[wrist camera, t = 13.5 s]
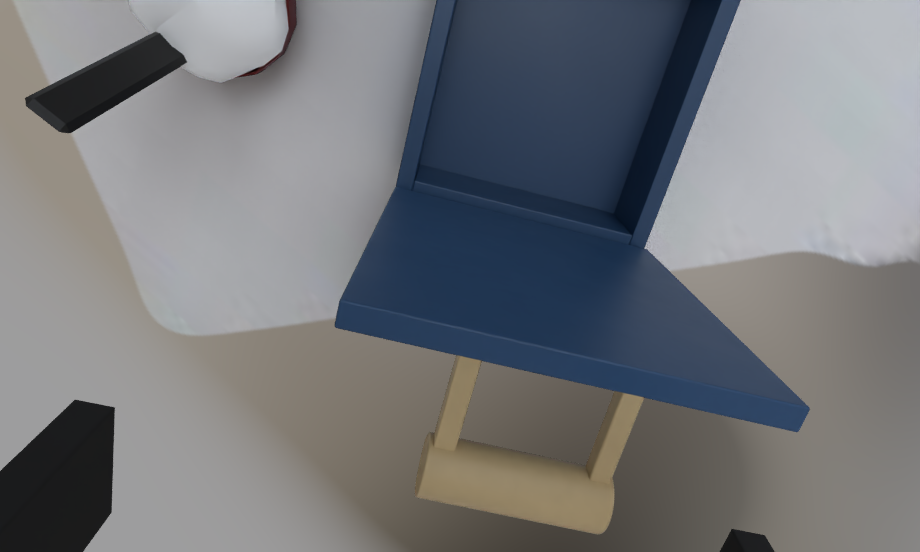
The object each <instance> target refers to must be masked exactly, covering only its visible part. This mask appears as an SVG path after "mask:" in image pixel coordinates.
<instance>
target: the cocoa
mask: <svg viewBox="0 0 920 552" xmlns="http://www.w3.org/2000/svg"><path fill="white" fill-rule="evenodd" d="M128 2H129V6H130V10H131V12H132V13H133V14H134V15H135V17H136V18H137V19H138V20H139V22H140V23H141V24H142V25H143V26H144V28H145V29H146V30H147V31H148V33H149V34H150V35H148V36H146V37H144V38H142V39H140V40H138V41H136V42H134V43H132V44H130V45H128V46H126V47H124V48H122V49H120V50H118V51H116V52H114V53H113V54H111V55H109V56H107V57H105V58H103V59H101V60H99V61H97V62H95V63H93V64H91V65H89V66H87V67H85V68H83V69H81V70H79V71H77V72H75V73H73V74H71V75H69V76H67V77H65V78H63V79H61V80H59V81H57V82H56V83H54V84H52V85H50V86H48V87H46V88H44V89H42V90H40V91H38V92H36V93H34V94H32V95H30V96H28V97H26V98H25V100H26V106H27V107H28V108H29V109H31V110H32V111H33V112H35V113H36V114H37V115H38V116H40V117H41V118H42V119H43V120H45V121H46V122H47V123H49V124H50V125H51V126H53V127H54V128H55V129H56V130H58V131H59V132H63V133H71V132H73V131H75V130H76V129H78V128H80V127H81V126H83V125H85V124H86V123H88V122H90V121H91V120H93V119H95V118H96V117H98V116H100V115H101V114H103V113H104V112H106V111H108V110H109V109H111V108H113V107H114V106H116V105H118V104H119V103H121V102H123V101H124V100H126V99H128V98H129V97H131V96H133V95H134V94H136V93H137V92H139V91H141V90H142V89H144V88H146V87H147V86H149V85H151V84H152V83H154V82H156V81H157V80H159V79H161V78H162V77H164V76H166V75H167V74H169V73H170V72H172V71H174V70H175V69H177V68H179V67H181V68H183V69H185V70H186V71H188V72H190V73H191V74H193V75H195V76H196V77H200V78H203V79H207V80H211V81H215V82H219V83H222V82H224V81H227V80H230V79H232V78H237V77H243V76H249V75H255V74H258V73H260V72H262V71H263V70H264V69H266V68H267V67H268V66H269V65H271V64H272V63H273V62H274V61H276V60H277V59H278V58H279V57H281V56H282V55H283V54H284V53H285V51H286V49H287V47H288V44H289V42H290V40H291V37H292V35H293V32H294V30H295V28H296V25H297V21H296V0H128Z"/></svg>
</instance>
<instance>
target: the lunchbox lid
mask: <svg viewBox="0 0 920 552" xmlns="http://www.w3.org/2000/svg"><path fill="white" fill-rule="evenodd" d="M335 327H336V328H339V329H343V330H348V331H352V332H357V333H361V334H365V335H370V336H374V337H379V338H383V339H388V340H392V341H397V342H401V343H405V344H410V345H414V346H419V347H423V348H427V349H432V350H436V351H441V352H445V353H449V354H454V355H456V358H455V361H454V365H453V368H452V372H451V375H450V379H449V383H448V386H447V390H446V393H445V397H444V400H443V404H442V407H441V411H440V415H439V418H438V422H437V425H436V429H435V432H434V433H432V432H429V433H428V435H427V437H426V439H425V442H424V446H423V450H422V453H421V458H420V462H419V467H418V472H417V478H416V486H415V496H416V497H417V498H422V499H427V500H432V501H437V502H442V503H447V504H452V505H457V506H462V507H467V508H471V509H477V510H481V511H486V512H492V513H496V514H501V515H506V516H511V517H516V518H521V519H525V520H530V521H535V522H540V523H545V524H550V525H555V526H560V527H565V528H570V529H574V530H580V531H584V532H590V533H594V534H601V533H603V532H604V531H605V530H606V528H607V527H608V525H609V523H610V520H611V517H612V512H613V507H614V483H613V479H612V476H613V473H614V471H615V469H616V466H617V464H618V461H619V459H620V456H621V454H622V451H623V449H624V446H625V444H626V441H627V439H628V437H629V434H630V432H631V429H632V427H633V424H634V422H635V419H636V417H637V414H638V412H639V409H640V407H641V404H642V402H643V399H644V398H648V399H652V400H657V401H662V402H666V403H670V404H674V405H679V406H684V407H688V408H692V409H697V410H701V411H705V412H710V413H715V414H719V415H724V416H728V417H732V418H737V419H741V420H745V421H750V422H755V423H758V424H763V425H767V426H772V427H776V428H781V429H785V430H789V431H794V432H798V431H799V430H800V428H801V426H802V424H803V422H804V420H805V418H806V416H807V414H808V412H809V410H810V409H809V407H808V406H807V405H806V404H805V403H804V402H803V401H802V400H801V399H800V398H799V397H798V396H797V395H796V394H795V393H794V392H793V391H792V390H791V389H790V388H789V387H788V386H787V385H785V383H784V382H783V381H782V380H781V379H779V378H778V377H777V376H776V375H775V374H774V373H773V372H772V371H771V370H770V369H769V368H768V367H767V366H766V365H765V364H764V363H763V362H762V361H761V360H760V359H759V358H758V357H757V356H756V355H755V354H754V353H753V352H752V351H751V350H750V349H749V348H748V347H747V346H746V345H744V343H742V342H741V341H740V340H739V339H738V338H737V337H736V336H735V335H734V334H733V333H732V332H731V331H730V330H729V329H728V328H727V327H726V326H725V325H724V324H723V323H722V322H721V321H720V320H719V319H718V318H717V317H716V316H715V315H714V314H713V313H711V311H710V310H709V309H708V308H707V307H706V306H704V305H703V304H702V303H701V302H700V301H699V300H698V299H697V298H696V297H695V296H694V295H693V294H692V293H691V292H690V291H689V290H688V289H687V288H686V287H685V286H684V285H683V284H682V283H681V282H680V281H679V280H678V279H677V278H675V276H674V275H673V274H672V273H671V272H670V271H669V270H668V269H667V268H665V267H664V266H663V265H662V264H661V263H660V262H659V261H658V260H657V259H656V258H655V257H654V256H653V255H652V254H651V253H650V252H649V251H648V250H647V249H643V248H639V247H635V246H631V245H627V244H623V243H619V242H615V241H611V240H607V239H603V238H599V237H595V236H591V235H587V234H583V233H579V232H575V231H571V230H567V229H563V228H559V227H555V226H551V225H546V224H542V223H538V222H534V221H530V220H526V219H522V218H518V217H514V216H510V215H506V214H502V213H498V212H494V211H490V210H486V209H482V208H478V207H474V206H470V205H466V204H462V203H458V202H454V201H450V200H446V199H442V198H438V197H434V196H430V195H426V194H422V193H418V192H414V191H410V190H406V189H402V188H398V187H395V189H394V191H393V193H392V195H391V197H390V199H389V201H388V203H387V205H386V207H385V209H384V211H383V213H382V215H381V217H380V219H379V221H378V223H377V225H376V228H375V230H374V232H373V234H372V236H371V238H370V240H369V242H368V244H367V246H366V248H365V250H364V252H363V254H362V256H361V258H360V260H359V262H358V264H357V266H356V268H355V270H354V272H353V274H352V277H351V279H350V281H349V283H348V285H347V287H346V289H345V291H344V293H343V295H342V297H341V299H340V301H339V306H338V311H337V316H336V321H335ZM482 361H485V362H490V363H493V364H498V365H503V366H507V367H512V368H516V369H520V370H524V371H529V372H533V373H538V374H542V375H546V376H551V377H556V378H560V379H565V380H569V381H573V382H577V383H582V384H586V385H591V386H595V387H599V388H604V389H608V390H613V391H614V394H613V397H612V399H611V402H610V404H609V407H608V409H607V412H606V415H605V417H604V420H603V422H602V425H601V428H600V430H599V433H598V435H597V438H596V440H595V443H594V446H593V448H592V451H591V453H590V456H589V459H588V461H587V464H586V465H582V464H577V463H572V462H568V461H563V460H558V459H554V458H549V457H544V456H540V455H535V454H530V453H526V452H521V451H516V450H512V449H507V448H502V447H498V446H493V445H488V444H484V443H479V442H474V441H470V440H465V439H460V438H459V436H460V433H461V430H462V426H463V423H464V420H465V416H466V413H467V409H468V406H469V402H470V399H471V396H472V393H473V389H474V386H475V383H476V379H477V376H478V372H479V369H480V366H481V362H482Z"/></svg>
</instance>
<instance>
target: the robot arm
mask: <svg viewBox="0 0 920 552" xmlns="http://www.w3.org/2000/svg"><path fill="white" fill-rule="evenodd" d="M114 411H115V408H114V407H110V406H104V405H99V404H94V403H89V402H84V401H79V400H74V401H73V402H72V403H71V404H70V405H69V406H68V407H67V408H66V409H65V410H64V411H63V412H62V413H61V414H60V415H59V416H58V417H56V418H55V419H54V420H53V421H52V422H51V423H50V424H49V425H48V426H47V427H46V428H45V429H44V430H43V431H42V432H41V433H40V434H39V435H38V436H36V438H35V439H33V440H32V441H31V442H30V443H29V444H28V445H27V446H26V447H25V448H24V449H23V450H22V451H21V452H20V453H19V454H18V455H17V456H16V457H14V458H13V459H12V460H11V461H10V462H9V463H8V464H7V465H6V466H5V467H4V468H3V469H2V470H1V471H0V552H83V551H84V549H85V548H86V547H87V545H88V544H89V543H90V541H91V540H92V539H93V537H94V535H95V534H96V533H97V532H98V530H99V529H100V528H101V526H102V525H103V523H104V522H105V521H106V519H107V518H108V516H109V515H110V514H111V510H112V507H111V506H112V476H113V443H114ZM720 552H774V550H773V548H772V547H771V545H770V543H769V542H768V540H767V539H766V537H765V536H764V535H760V534H755V533H750V532H745V531H740V530H734V529H732V530H731V532H730V533H729V535H728V537H727V539H726V541H725V543H724V545H723V547H722V548H721V550H720Z"/></svg>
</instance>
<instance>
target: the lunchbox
mask: <svg viewBox="0 0 920 552" xmlns="http://www.w3.org/2000/svg"><path fill="white" fill-rule="evenodd" d="M740 1H741V0H437V1H436V5H435V10H434V15H433V19H432V24H431V28H430V33H429V37H428V42H427V46H426V51H425V56H424V60H423V65H422V69H421V74H420V78H419V83H418V87H417V92H416V97H415V101H414V106H413V110H412V115H411V119H410V124H409V128H408V133H407V138H406V142H405V147H404V151H403V156H402V160H401V165H400V170H399V174H398V179H397V183H396V187H398V188H402V189H406V190H410V191H414V192H418V193H422V194H426V195H430V196H434V197H438V198H442V199H446V200H450V201H454V202H458V203H462V204H466V205H470V206H474V207H478V208H482V209H486V210H490V211H494V212H498V213H502V214H506V215H510V216H514V217H518V218H522V219H526V220H530V221H534V222H538V223H542V224H546V225H551V226H555V227H559V228H563V229H567V230H571V231H575V232H579V233H583V234H587V235H591V236H595V237H599V238H603V239H607V240H611V241H615V242H619V243H623V244H627V245H631V246H635V247H639V248H643V249H644V248H645V245H646V242H647V240H648V237H649V235H650V232H651V230H652V227H653V224H654V222H655V219H656V217H657V214H658V212H659V209H660V206H661V204H662V201H663V199H664V196H665V194H666V191H667V188H668V186H669V183H670V181H671V178H672V176H673V173H674V170H675V168H676V165H677V163H678V160H679V158H680V155H681V152H682V150H683V147H684V145H685V142H686V139H687V137H688V134H689V132H690V129H691V127H692V124H693V121H694V119H695V116H696V114H697V111H698V109H699V106H700V103H701V101H702V98H703V96H704V93H705V91H706V88H707V85H708V83H709V80H710V78H711V75H712V73H713V70H714V67H715V65H716V62H717V60H718V57H719V55H720V52H721V49H722V47H723V44H724V42H725V39H726V37H727V34H728V31H729V29H730V26H731V24H732V21H733V19H734V16H735V13H736V11H737V8H738V6H739V3H740Z"/></svg>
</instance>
